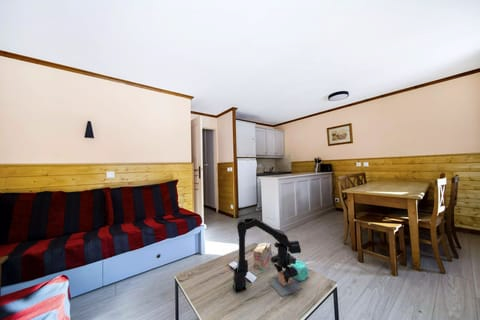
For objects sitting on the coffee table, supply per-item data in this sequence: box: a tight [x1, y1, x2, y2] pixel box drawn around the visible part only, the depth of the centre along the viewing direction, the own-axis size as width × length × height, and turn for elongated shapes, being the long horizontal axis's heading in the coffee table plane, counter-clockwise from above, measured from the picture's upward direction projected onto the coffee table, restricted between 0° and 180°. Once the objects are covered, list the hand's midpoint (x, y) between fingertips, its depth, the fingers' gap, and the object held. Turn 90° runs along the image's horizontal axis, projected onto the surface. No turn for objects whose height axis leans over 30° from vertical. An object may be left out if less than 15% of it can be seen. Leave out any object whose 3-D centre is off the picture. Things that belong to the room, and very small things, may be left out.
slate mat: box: [267, 276, 303, 298], centre depth 104 cm, size 14×14×1 cm
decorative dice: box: [289, 260, 309, 282], centre depth 111 cm, size 8×8×8 cm
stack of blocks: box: [253, 242, 272, 271], centre depth 131 cm, size 21×6×12 cm, turn 153°
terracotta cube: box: [277, 269, 290, 286], centre depth 104 cm, size 5×5×5 cm
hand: (284, 279), depth 104 cm, fingers closed on terracotta cube, 5 cm apart
